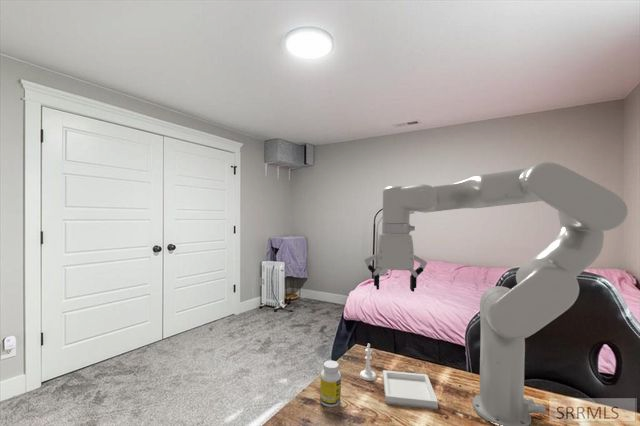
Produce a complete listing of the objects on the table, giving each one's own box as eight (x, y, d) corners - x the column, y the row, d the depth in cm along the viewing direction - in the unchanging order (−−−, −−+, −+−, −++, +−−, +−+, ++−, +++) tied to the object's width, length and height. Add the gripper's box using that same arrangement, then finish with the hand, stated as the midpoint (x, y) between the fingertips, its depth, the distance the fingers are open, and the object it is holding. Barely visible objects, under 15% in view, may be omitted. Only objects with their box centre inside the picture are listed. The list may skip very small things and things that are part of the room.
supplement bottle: (339, 409, 75) (339, 370, 75) (318, 406, 76) (318, 368, 76) (341, 396, 80) (342, 360, 80) (322, 393, 82) (322, 357, 82)
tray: (427, 381, 89) (427, 374, 89) (437, 409, 76) (437, 401, 76) (382, 376, 91) (382, 370, 91) (385, 403, 78) (386, 396, 78)
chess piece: (378, 375, 91) (379, 342, 91) (372, 382, 87) (373, 348, 87) (363, 370, 94) (364, 338, 94) (357, 377, 90) (357, 344, 90)
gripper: (424, 229, 87) (423, 287, 87) (365, 228, 90) (364, 284, 90) (430, 231, 80) (429, 294, 80) (365, 229, 82) (364, 291, 82)
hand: (394, 289), depth 85 cm, fingers open, 9 cm apart
